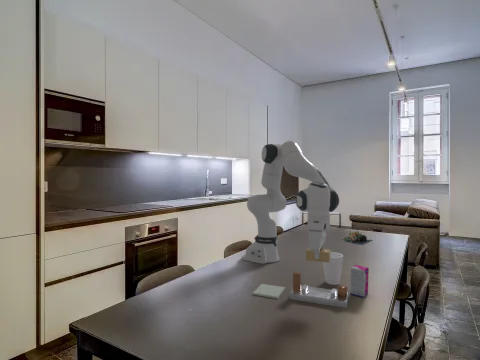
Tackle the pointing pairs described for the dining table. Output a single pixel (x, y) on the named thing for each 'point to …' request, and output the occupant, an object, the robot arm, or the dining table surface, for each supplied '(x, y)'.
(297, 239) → the dining table surface
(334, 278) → the foam cup
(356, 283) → the supplement box
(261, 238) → the robot arm
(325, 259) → the tan upright box
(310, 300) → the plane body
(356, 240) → the plated dish
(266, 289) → the sage mat
